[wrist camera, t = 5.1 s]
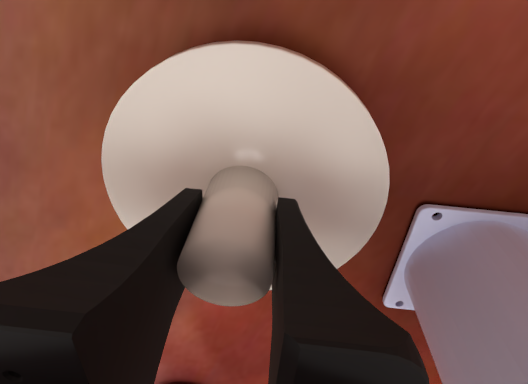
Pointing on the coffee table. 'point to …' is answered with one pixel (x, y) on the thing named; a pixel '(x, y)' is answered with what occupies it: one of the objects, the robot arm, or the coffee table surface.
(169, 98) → the lid
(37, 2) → the coffee table surface
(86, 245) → the coffee table surface
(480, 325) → the robot arm
